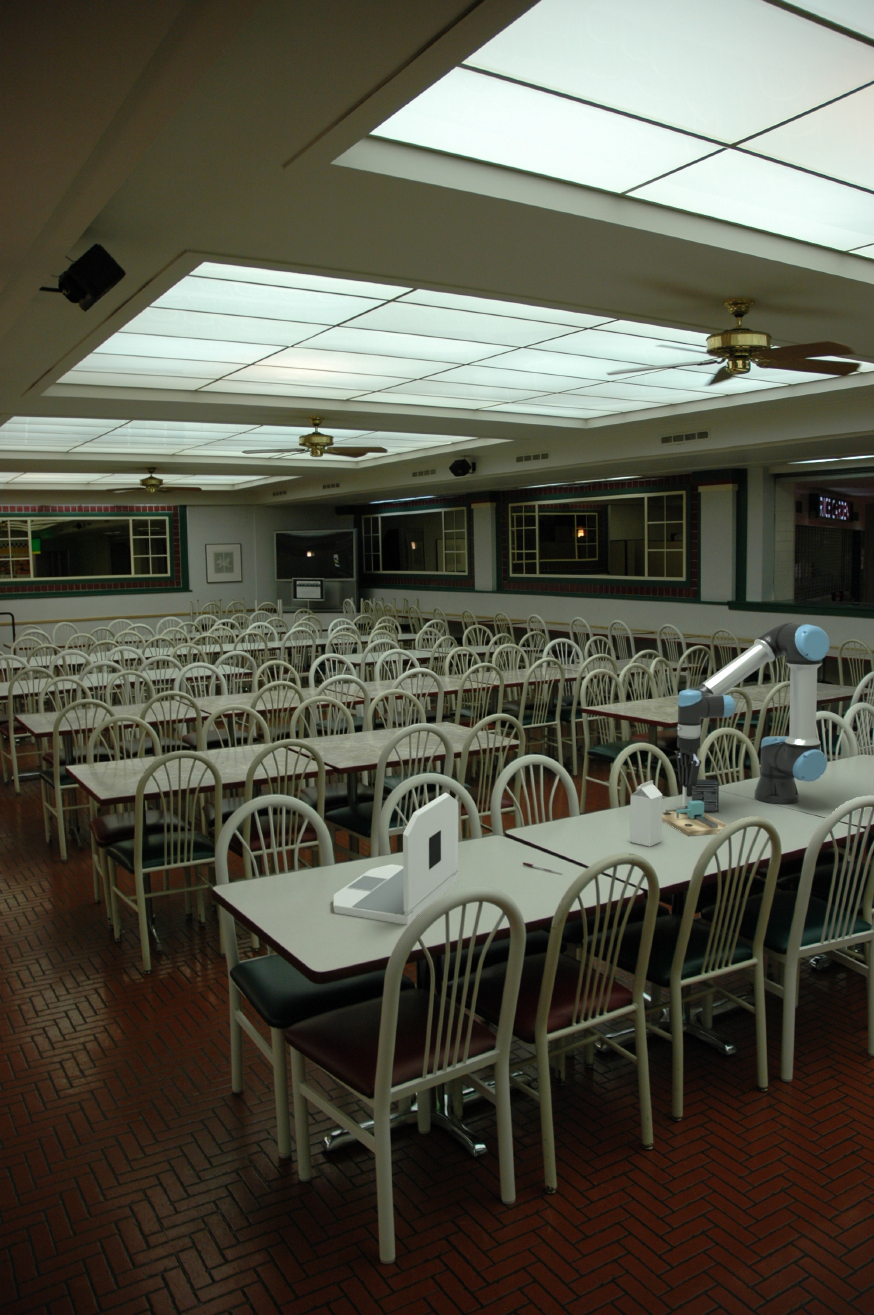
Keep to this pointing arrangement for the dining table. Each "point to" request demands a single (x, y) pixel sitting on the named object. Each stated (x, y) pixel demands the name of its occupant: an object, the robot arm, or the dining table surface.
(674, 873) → the dining table surface
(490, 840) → the dining table surface
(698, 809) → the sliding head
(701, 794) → the small box
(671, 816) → the board
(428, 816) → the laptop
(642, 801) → the milk carton
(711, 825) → the beam
